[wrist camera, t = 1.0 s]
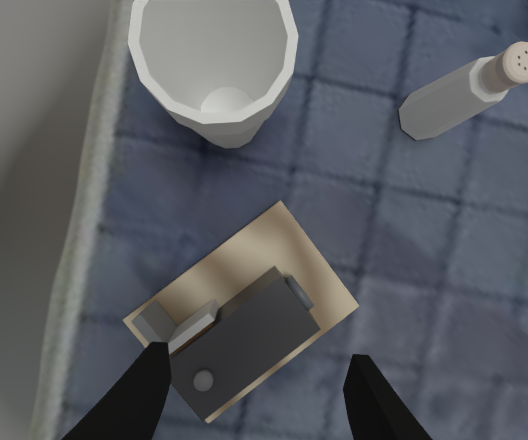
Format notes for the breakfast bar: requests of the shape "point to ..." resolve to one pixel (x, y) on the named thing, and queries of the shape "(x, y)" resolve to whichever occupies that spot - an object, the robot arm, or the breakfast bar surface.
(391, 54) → the breakfast bar surface
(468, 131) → the breakfast bar surface
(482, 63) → the pepper shaker
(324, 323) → the board
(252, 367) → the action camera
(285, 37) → the foam cup
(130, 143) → the breakfast bar surface
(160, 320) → the door
